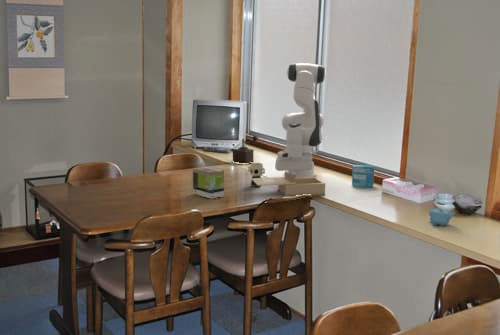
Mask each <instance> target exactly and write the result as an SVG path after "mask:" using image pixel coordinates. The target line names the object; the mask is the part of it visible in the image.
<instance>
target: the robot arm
mask: <svg viewBox="0 0 500 335" xmlns="http://www.w3.org/2000/svg"><path fill="white" fill-rule="evenodd" d="M286 75H287V79H288V80H289V81H290V82H293V83H294V87H293V100H294V102H295V104H296V106H298V107H299V108H301V109H302V110H303V112H291V113H288V114H285V115H284V116H283V117H282V120H281V126H282V127H283V129H284V130H285V132H286V138H285V139H286V146H285V149H284V150H280V151H278V152H277V157H276V159H275V164H274V165H275V166H274V167H275V170H276V171H277V172H282V171H283V172H284V173H285V172H288V173H290V174H291V175H292V176H294V178H311V177H317V173H315V163H314V161H313V154H312V147H314V148H316V147H317V146H319V145H320V144H322V140H323V134H322V128H323V125H324V117H323V116H322V114H321V112H320V111H321V110H320V105H319V102H318V99H316V98H315V94H316V85H318V84H322V83H323V82H324V81H325V79H326V76H327V71H326V67H324V66H323V65H320V64H314V63H297V62H296V63H295V62H293V63H291V64H289V66H288V67H287V72H286Z"/></svg>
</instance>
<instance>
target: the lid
mask: <svg viewBox="0 0 500 335" xmlns="http://www.w3.org/2000/svg"><path fill="white" fill-rule="evenodd" d="M251 180H253V181H254V182H255V183H256V184H257V185H258V186H259V187H262V186H278V185H286V184H296V183H295V182H294V176H292V175H291V174H290V173H288V172H285V171H284V176H280V177H279V176H278V177H261V178H252V177H251Z"/></svg>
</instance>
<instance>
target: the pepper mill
mask: <svg viewBox="0 0 500 335" xmlns="http://www.w3.org/2000/svg"><path fill="white" fill-rule="evenodd" d="M258 140H259V137H258V136H257V135H253V136H252V142H251V141H250V142H249V141H245V140H244V138H242V139H241V143H242V146H241V147H238V148H236V149H235V148H234V149H232V162H233V161H234V162H239V163H250V162H254V149H252V148H249V147H247V146H245V144H256V143H257V141H258Z"/></svg>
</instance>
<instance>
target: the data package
mask: <svg viewBox="0 0 500 335" xmlns="http://www.w3.org/2000/svg"><path fill="white" fill-rule="evenodd" d="M351 170H352V175H351V186H352V187H353V188H366V189H367V188H374V182H375V178H374V177H375V167H374V166H373V165H365V164H364V165H363V164H354V165H353V166H352V169H351Z"/></svg>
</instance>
